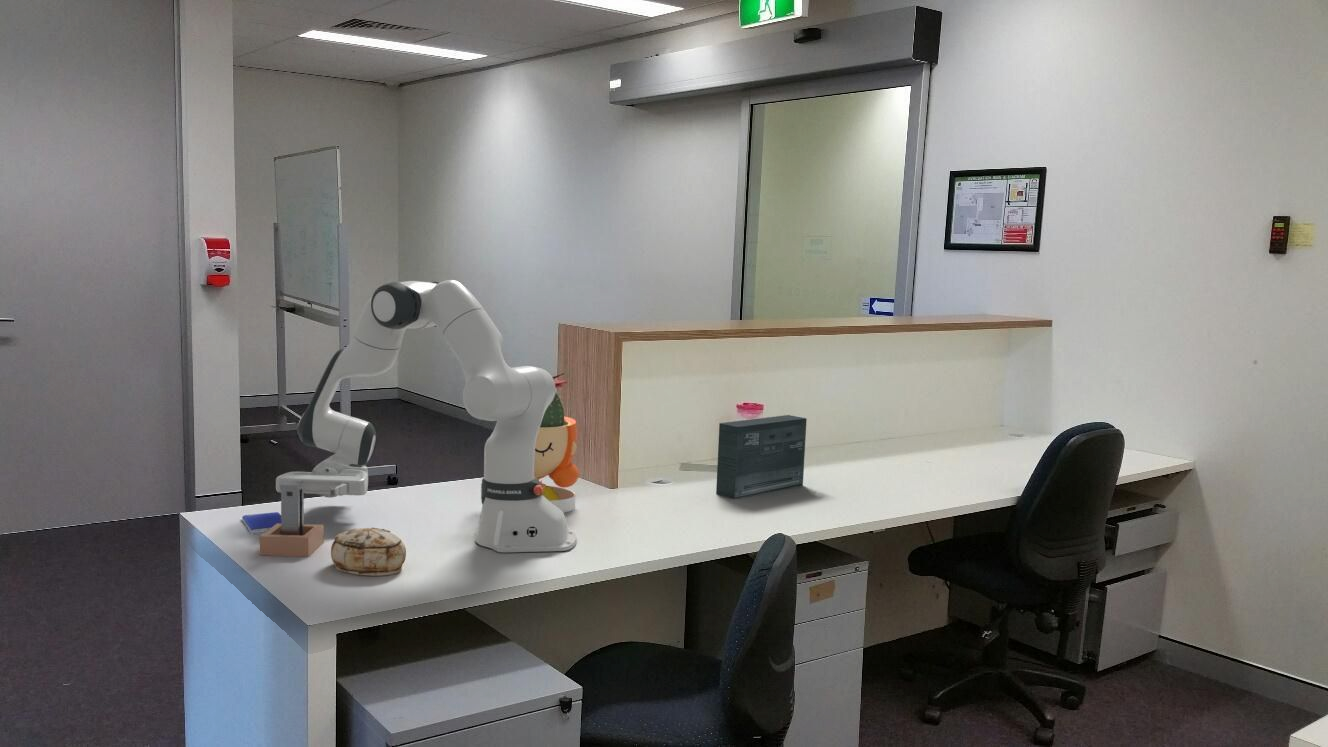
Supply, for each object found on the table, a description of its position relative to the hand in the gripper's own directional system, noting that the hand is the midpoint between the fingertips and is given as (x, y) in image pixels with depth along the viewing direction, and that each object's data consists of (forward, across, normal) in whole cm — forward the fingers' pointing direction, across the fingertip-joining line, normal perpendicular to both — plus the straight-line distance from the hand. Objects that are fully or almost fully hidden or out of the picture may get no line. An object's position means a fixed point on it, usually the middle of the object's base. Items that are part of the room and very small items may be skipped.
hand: (312, 491), depth 223 cm
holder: (+13, 0, +9) cm, 16 cm away
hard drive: (-5, -12, +10) cm, 17 cm away
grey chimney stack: (+13, 0, +8) cm, 15 cm away
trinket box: (+24, +19, +10) cm, 32 cm away
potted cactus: (-33, +47, +9) cm, 58 cm away
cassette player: (-57, +108, +10) cm, 123 cm away
